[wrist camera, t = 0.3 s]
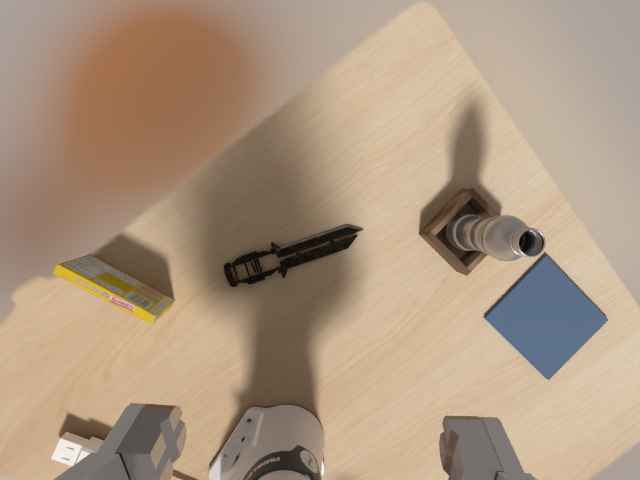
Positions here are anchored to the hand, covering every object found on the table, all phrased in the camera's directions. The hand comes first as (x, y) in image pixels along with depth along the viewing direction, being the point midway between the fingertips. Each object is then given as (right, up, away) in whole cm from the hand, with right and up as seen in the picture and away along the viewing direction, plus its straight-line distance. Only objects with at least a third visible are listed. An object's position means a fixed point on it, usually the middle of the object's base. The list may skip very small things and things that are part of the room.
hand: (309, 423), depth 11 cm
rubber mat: (+43, -9, +56) cm, 71 cm away
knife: (-4, +4, +52) cm, 52 cm away
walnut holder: (+25, +7, +53) cm, 59 cm away
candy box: (-32, -2, +51) cm, 60 cm away
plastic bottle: (+25, +7, +53) cm, 59 cm away
